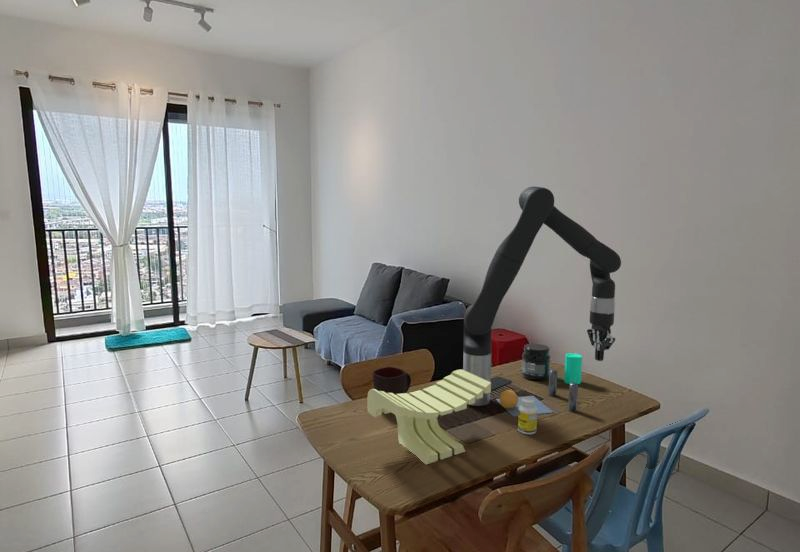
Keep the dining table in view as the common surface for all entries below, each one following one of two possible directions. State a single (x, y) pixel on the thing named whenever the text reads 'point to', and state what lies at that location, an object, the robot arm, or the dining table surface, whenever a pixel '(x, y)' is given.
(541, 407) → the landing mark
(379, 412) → the slatted curved stool
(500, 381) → the phone
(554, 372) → the far post
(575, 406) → the near post
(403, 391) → the cup
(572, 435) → the dining table surface
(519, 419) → the supplement bottle
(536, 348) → the supplement container
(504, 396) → the ball
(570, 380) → the candle
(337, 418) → the dining table surface
